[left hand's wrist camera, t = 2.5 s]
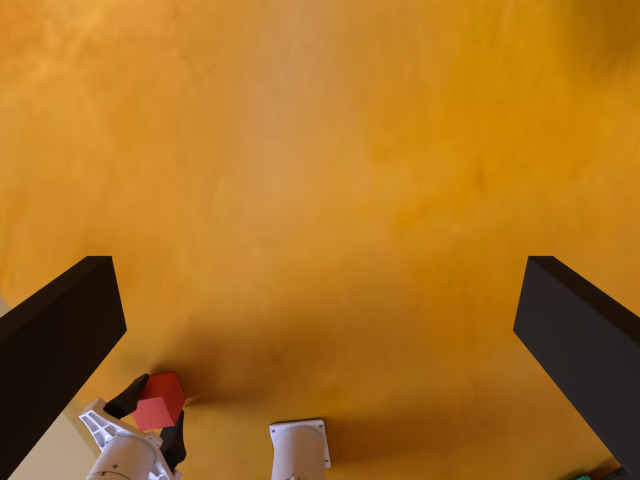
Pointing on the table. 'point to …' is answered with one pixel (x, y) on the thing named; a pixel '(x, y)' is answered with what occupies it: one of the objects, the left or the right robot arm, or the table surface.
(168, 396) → the block
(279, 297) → the table surface
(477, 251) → the table surface
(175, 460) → the right robot arm
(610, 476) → the toy gun
